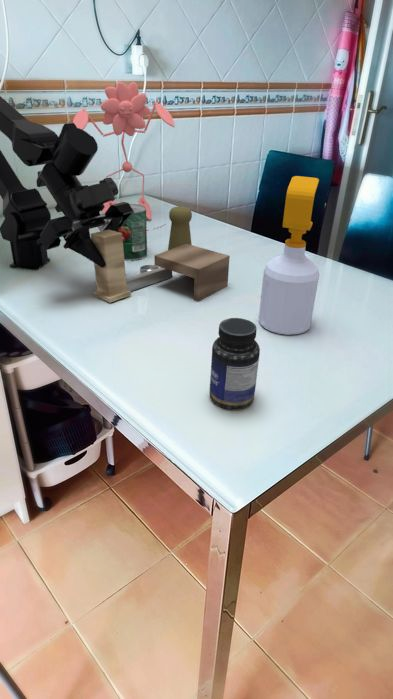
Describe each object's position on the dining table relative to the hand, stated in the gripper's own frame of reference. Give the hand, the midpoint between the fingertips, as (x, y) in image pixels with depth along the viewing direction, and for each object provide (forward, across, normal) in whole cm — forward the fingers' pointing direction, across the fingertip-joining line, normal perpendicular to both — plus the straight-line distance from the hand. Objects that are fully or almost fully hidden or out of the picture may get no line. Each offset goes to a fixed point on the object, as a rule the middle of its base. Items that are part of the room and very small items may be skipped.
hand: (113, 263), depth 88 cm
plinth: (+10, +14, 0) cm, 17 cm away
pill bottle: (+30, -12, -20) cm, 38 cm away
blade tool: (+5, +6, +5) cm, 9 cm away
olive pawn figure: (0, +27, +10) cm, 29 cm away
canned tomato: (-5, +19, +15) cm, 25 cm away
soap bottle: (+26, +12, -16) cm, 33 cm away
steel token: (+3, +12, +7) cm, 14 cm away
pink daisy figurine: (-18, +37, +28) cm, 50 cm away
